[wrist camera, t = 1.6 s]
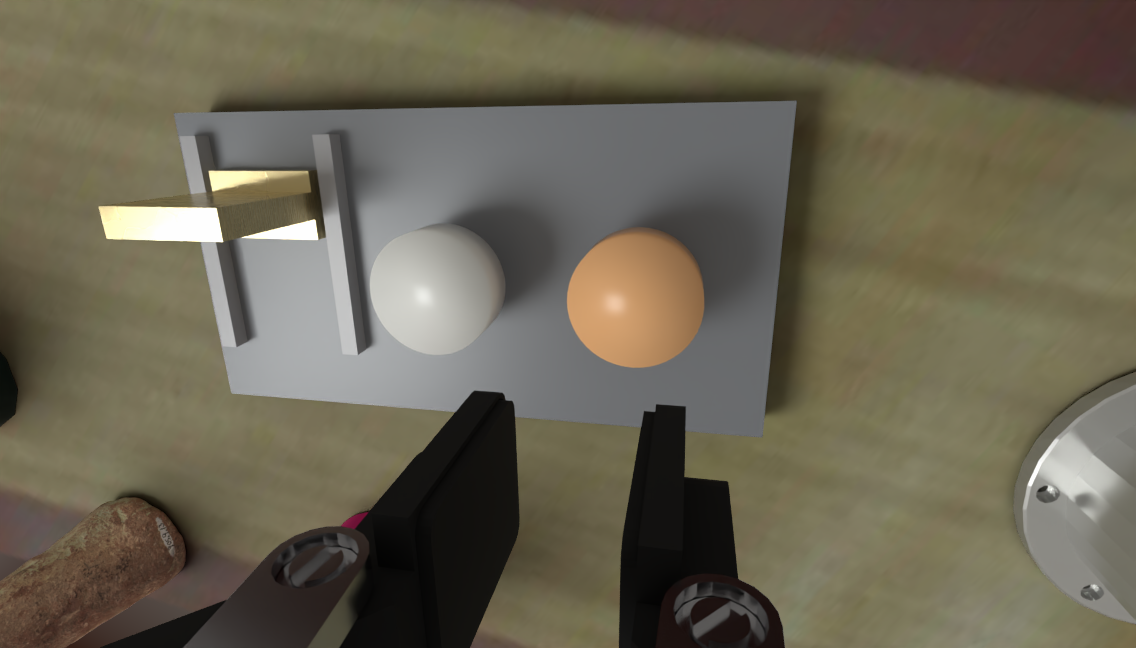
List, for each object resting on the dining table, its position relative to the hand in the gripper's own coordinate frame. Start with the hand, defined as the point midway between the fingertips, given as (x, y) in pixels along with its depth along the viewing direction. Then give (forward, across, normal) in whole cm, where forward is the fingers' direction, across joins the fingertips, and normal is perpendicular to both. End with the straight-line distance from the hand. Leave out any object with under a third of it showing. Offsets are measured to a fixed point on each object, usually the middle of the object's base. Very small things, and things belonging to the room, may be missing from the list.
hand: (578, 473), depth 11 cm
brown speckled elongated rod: (+17, +32, +19) cm, 41 cm away
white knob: (+13, +8, 0) cm, 16 cm away
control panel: (+17, +8, 0) cm, 19 cm away
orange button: (+13, 0, 0) cm, 13 cm away
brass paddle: (+15, +17, -3) cm, 23 cm away
